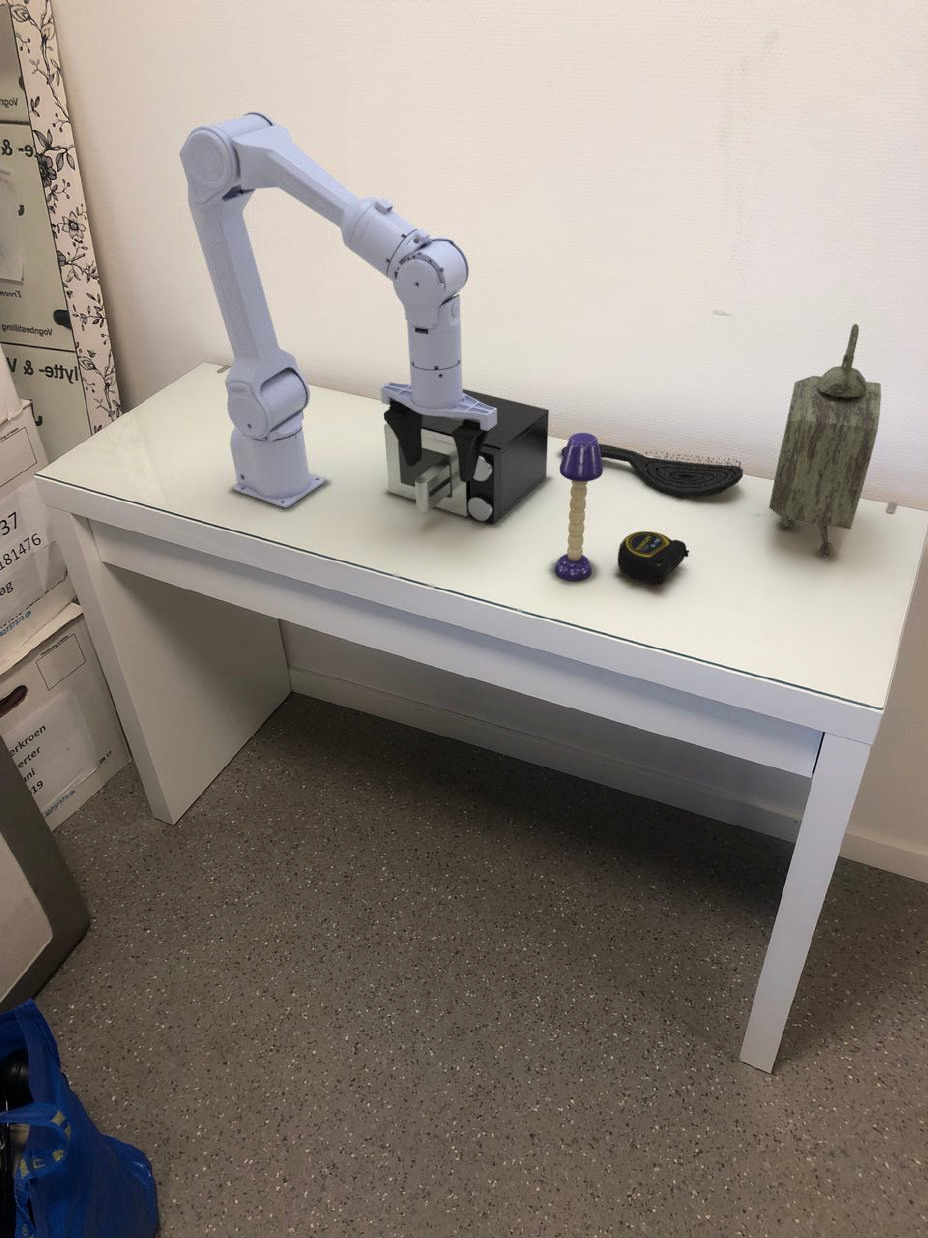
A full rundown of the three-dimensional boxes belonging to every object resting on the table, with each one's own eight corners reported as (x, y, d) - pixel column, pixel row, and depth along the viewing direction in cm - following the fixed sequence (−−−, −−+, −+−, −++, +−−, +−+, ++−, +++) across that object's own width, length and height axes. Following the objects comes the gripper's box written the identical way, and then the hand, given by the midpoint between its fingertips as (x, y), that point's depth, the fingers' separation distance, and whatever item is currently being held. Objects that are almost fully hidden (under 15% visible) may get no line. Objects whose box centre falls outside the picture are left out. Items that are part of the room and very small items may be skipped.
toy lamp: (553, 557, 108) (559, 428, 98) (593, 557, 108) (603, 427, 98) (555, 581, 105) (562, 449, 94) (596, 581, 104) (607, 448, 94)
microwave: (490, 528, 114) (490, 455, 108) (386, 495, 121) (380, 425, 115) (546, 478, 123) (548, 409, 117) (447, 450, 130) (444, 383, 124)
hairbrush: (575, 422, 130) (752, 453, 119) (575, 446, 132) (748, 478, 121) (549, 447, 124) (732, 481, 113) (550, 471, 126) (729, 507, 116)
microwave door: (441, 538, 112) (437, 467, 106) (362, 512, 117) (355, 443, 111) (473, 511, 117) (472, 441, 111) (396, 487, 122) (391, 419, 116)
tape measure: (659, 596, 102) (663, 568, 100) (605, 575, 105) (607, 548, 103) (687, 567, 106) (691, 540, 104) (634, 548, 109) (637, 521, 107)
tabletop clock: (840, 567, 105) (898, 357, 90) (759, 553, 108) (802, 347, 93) (845, 505, 116) (898, 308, 101) (771, 494, 119) (811, 300, 103)
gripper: (511, 360, 100) (510, 470, 108) (403, 336, 106) (410, 442, 115) (476, 383, 95) (478, 497, 104) (365, 356, 102) (376, 466, 110)
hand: (440, 470), depth 109 cm, fingers open, 7 cm apart
